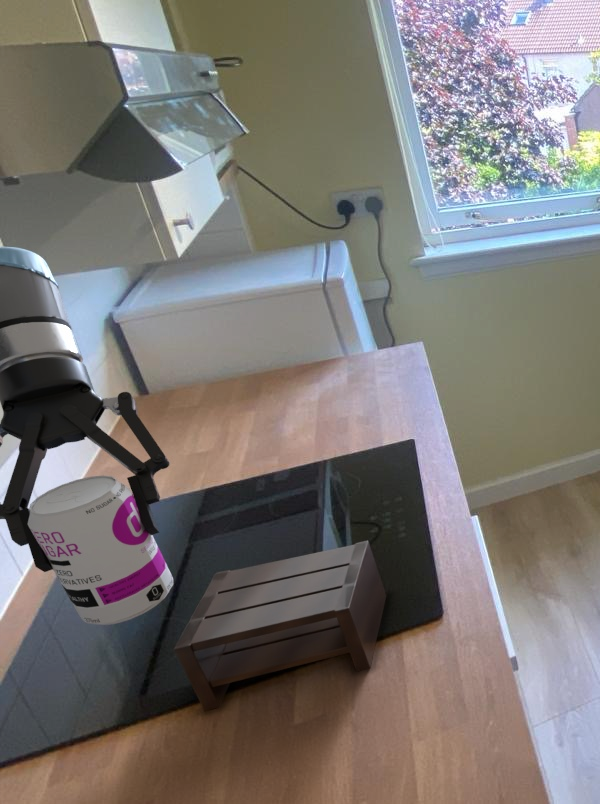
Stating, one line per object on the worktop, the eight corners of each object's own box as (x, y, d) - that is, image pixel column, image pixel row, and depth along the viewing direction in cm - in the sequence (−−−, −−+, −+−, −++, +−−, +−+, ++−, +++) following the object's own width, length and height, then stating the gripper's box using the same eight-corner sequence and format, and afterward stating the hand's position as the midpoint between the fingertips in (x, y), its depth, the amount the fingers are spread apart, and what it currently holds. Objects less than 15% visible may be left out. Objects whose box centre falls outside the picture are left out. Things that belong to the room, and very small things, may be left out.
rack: (204, 711, 88) (173, 649, 84) (241, 630, 100) (215, 572, 96) (370, 668, 94) (348, 608, 90) (386, 596, 106) (368, 540, 102)
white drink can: (187, 570, 89) (137, 466, 83) (157, 618, 82) (101, 507, 75) (106, 587, 86) (48, 481, 80) (68, 637, 79) (2, 524, 73)
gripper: (162, 358, 93) (223, 516, 89) (-79, 414, 81) (-22, 602, 76) (149, 330, 88) (212, 499, 83) (-113, 387, 75) (-55, 589, 70)
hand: (100, 548), depth 80 cm, fingers closed on white drink can, 8 cm apart
